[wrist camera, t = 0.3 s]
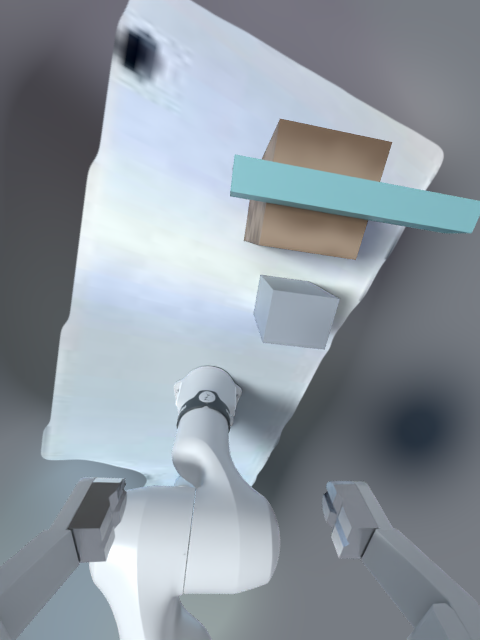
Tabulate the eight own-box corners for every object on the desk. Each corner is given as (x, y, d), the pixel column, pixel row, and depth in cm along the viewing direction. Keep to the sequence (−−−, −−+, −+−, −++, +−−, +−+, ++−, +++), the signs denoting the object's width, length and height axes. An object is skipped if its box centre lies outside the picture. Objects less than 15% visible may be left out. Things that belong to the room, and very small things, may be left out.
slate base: (299, 320, 58) (324, 349, 43) (253, 314, 57) (262, 342, 42) (309, 281, 55) (339, 298, 40) (260, 274, 54) (273, 290, 39)
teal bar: (446, 233, 27) (471, 233, 24) (230, 196, 25) (230, 191, 22) (458, 205, 26) (485, 202, 23) (233, 164, 24) (234, 154, 21)
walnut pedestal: (295, 248, 52) (355, 259, 28) (244, 240, 51) (259, 245, 27) (308, 189, 48) (392, 142, 24) (252, 179, 47) (280, 118, 23)
